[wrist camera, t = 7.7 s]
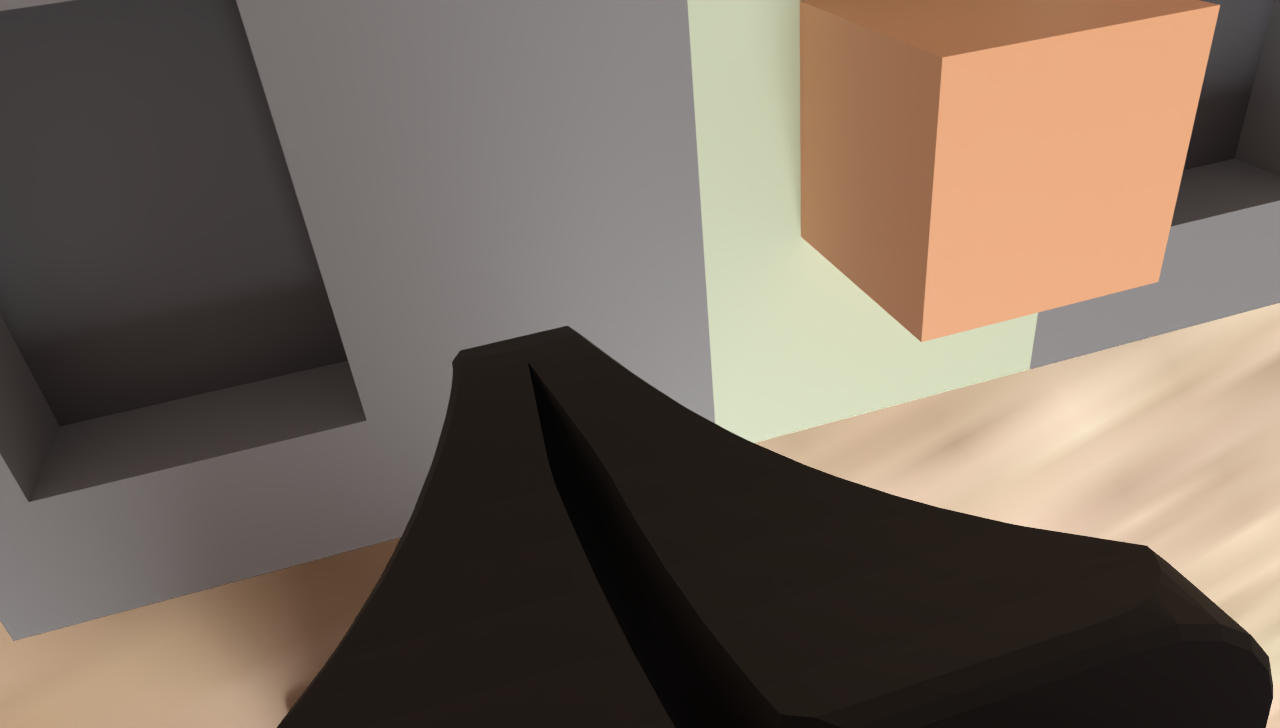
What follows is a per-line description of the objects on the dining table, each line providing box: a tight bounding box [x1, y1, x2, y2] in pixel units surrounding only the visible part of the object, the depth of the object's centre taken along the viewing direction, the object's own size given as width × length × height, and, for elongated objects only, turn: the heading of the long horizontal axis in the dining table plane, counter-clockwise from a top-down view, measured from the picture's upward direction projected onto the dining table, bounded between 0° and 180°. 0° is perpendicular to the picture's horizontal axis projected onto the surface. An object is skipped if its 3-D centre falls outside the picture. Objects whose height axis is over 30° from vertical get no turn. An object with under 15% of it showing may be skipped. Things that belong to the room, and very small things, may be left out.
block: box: [800, 0, 1220, 342], centre depth 16 cm, size 4×4×4 cm
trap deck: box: [0, 0, 1280, 641], centre depth 19 cm, size 14×32×3 cm, turn 95°
